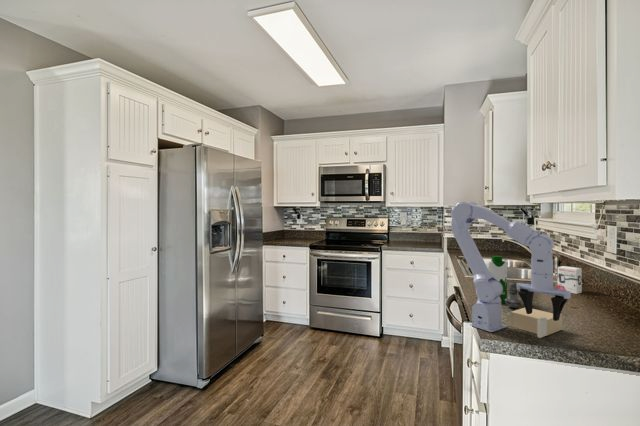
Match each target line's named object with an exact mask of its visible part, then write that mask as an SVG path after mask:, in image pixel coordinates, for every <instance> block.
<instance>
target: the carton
mask: <svg viewBox="0 0 640 426" xmlns="http://www.w3.org/2000/svg"><path fill="white" fill-rule="evenodd" d="M552 316H553V312H549V311H543V310H540V309H535V308H532V313H531V314H527V313H526V309H525V307H522V308H519V309H518V310H515V311H510V327H512V328H515V329H520V330H522V331H526V332H529V333H531V334H532V333H533V334H536V335H537V319H540V318H543V317H545V318H549V317H552Z"/></svg>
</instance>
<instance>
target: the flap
mask: <svg viewBox="0 0 640 426" xmlns="http://www.w3.org/2000/svg"><path fill="white" fill-rule="evenodd" d="M562 330H563V314H562V313H561V314H560V318H559V320H557V321H554V320H553V316H552V317H549V318H545V317H543V318H540V319H537V334H536V335H537V336H536V337H537V338H539V339H541V338H543V337H545V336H546V337H547V336H551V335H553V334H554V333H557V332H559V331H562Z"/></svg>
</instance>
